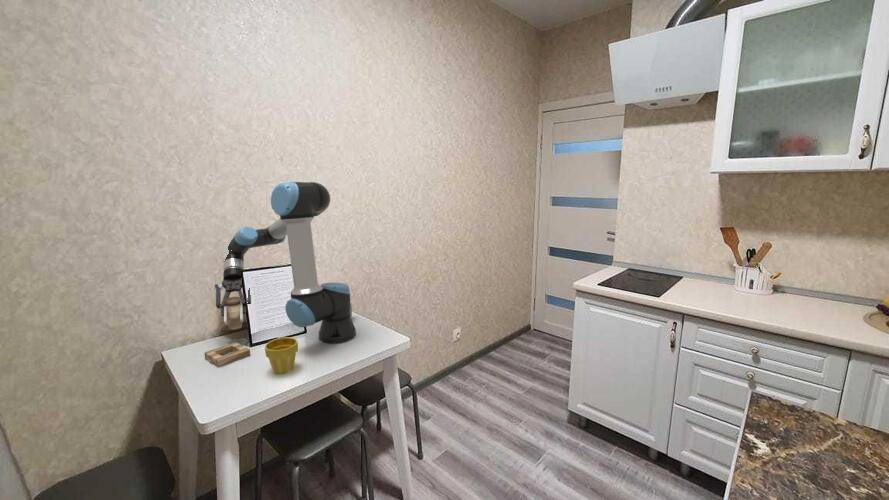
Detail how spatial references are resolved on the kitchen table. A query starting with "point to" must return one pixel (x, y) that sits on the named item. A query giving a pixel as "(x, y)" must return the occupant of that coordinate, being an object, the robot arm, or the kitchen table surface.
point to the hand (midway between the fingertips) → (233, 321)
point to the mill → (233, 312)
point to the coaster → (240, 341)
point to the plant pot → (282, 354)
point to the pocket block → (234, 347)
